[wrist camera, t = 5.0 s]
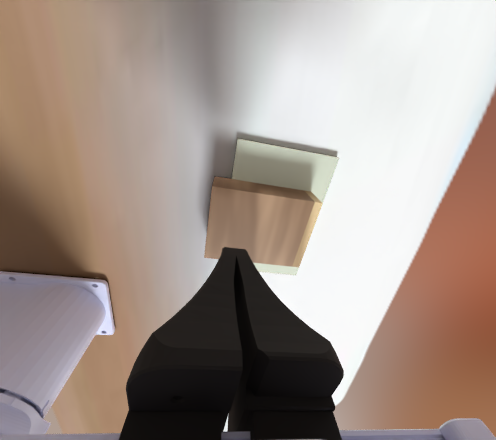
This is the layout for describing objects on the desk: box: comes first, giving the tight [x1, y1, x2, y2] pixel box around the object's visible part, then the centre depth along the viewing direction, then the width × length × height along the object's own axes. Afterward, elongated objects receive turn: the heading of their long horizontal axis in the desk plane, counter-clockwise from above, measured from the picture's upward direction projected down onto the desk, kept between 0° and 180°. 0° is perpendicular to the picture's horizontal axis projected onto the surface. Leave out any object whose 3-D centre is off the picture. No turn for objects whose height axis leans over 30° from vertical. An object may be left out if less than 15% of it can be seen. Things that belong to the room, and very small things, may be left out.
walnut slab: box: [204, 176, 322, 267], centre depth 17 cm, size 2×6×8 cm
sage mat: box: [232, 139, 339, 275], centre depth 18 cm, size 8×12×1 cm, turn 170°
